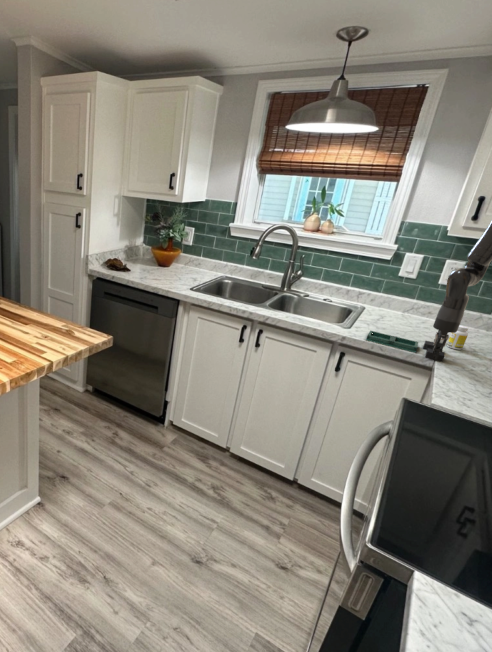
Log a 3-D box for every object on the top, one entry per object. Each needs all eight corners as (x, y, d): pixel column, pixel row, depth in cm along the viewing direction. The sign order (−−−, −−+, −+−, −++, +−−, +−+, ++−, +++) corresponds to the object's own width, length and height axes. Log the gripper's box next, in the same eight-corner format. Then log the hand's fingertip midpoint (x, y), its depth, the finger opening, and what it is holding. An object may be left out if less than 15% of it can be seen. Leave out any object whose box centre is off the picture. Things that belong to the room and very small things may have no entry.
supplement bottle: (463, 348, 178) (472, 327, 175) (459, 350, 175) (468, 329, 172) (448, 344, 182) (457, 323, 179) (444, 346, 179) (452, 325, 176)
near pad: (441, 358, 165) (444, 352, 164) (441, 363, 161) (444, 356, 160) (425, 354, 168) (427, 348, 167) (424, 358, 164) (427, 351, 163)
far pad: (438, 350, 174) (441, 344, 173) (438, 354, 170) (441, 347, 169) (423, 346, 177) (425, 340, 176) (422, 350, 173) (425, 343, 172)
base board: (416, 346, 177) (418, 341, 176) (415, 354, 168) (417, 348, 167) (369, 334, 187) (370, 329, 186) (365, 341, 178) (367, 336, 177)
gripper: (461, 325, 151) (445, 366, 157) (460, 316, 162) (445, 355, 168) (436, 320, 155) (421, 360, 161) (437, 312, 166) (422, 350, 172)
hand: (433, 357), depth 164 cm, fingers closed on near pad, 5 cm apart
